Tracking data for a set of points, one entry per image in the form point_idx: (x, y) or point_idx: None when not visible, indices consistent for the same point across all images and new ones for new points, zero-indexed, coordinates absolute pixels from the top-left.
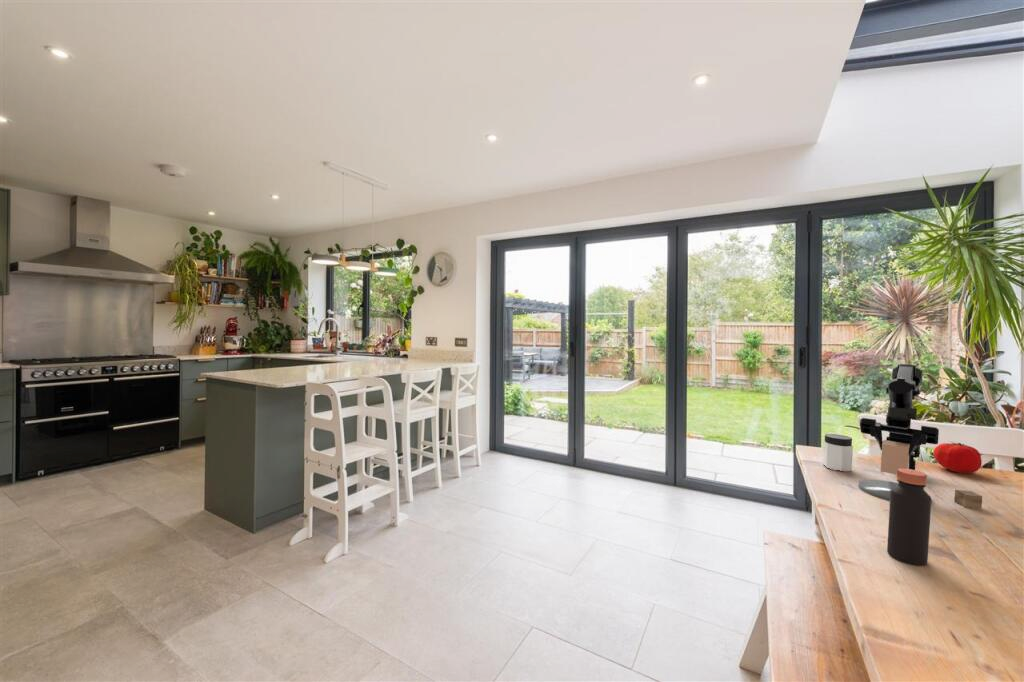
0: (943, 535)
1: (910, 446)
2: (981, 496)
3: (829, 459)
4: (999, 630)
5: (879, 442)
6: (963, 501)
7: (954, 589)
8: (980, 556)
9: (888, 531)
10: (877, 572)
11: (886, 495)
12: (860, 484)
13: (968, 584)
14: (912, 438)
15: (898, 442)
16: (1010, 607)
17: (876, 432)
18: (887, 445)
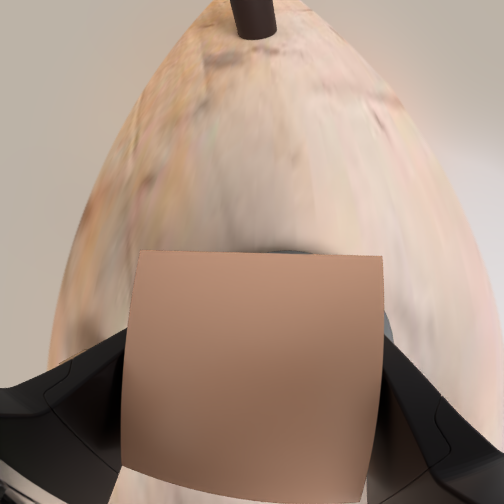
0: (200, 109)
1: (117, 350)
2: (61, 363)
3: None
4: (210, 9)
5: (409, 365)
6: None
7: (224, 21)
8: (173, 82)
9: (273, 7)
10: (281, 10)
11: (301, 252)
12: (386, 325)
13: (210, 31)
14: (44, 410)
15: (214, 486)
16: (190, 27)
17: (495, 460)
18: (327, 260)
